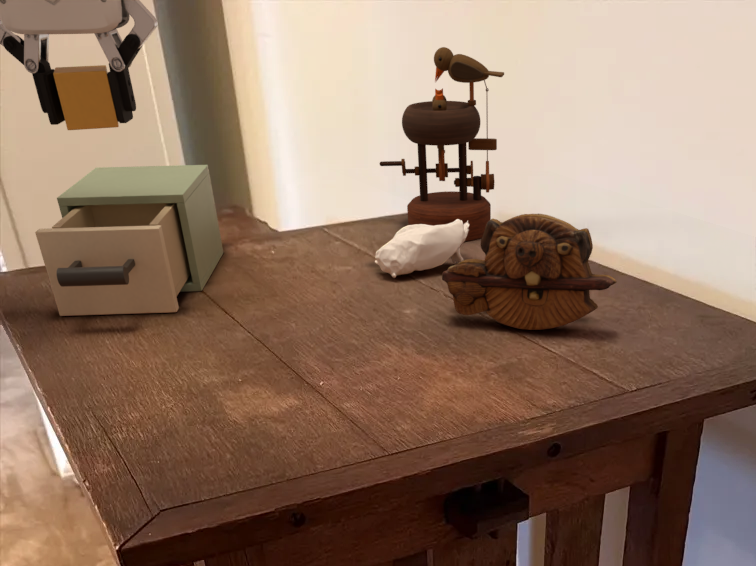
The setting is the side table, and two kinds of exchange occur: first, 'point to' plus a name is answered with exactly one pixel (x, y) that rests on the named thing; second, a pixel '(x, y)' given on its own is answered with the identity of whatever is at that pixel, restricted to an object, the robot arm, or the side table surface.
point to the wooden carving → (528, 274)
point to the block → (85, 97)
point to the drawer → (116, 259)
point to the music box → (450, 127)
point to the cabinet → (155, 187)
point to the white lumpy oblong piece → (422, 247)
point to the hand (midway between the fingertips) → (92, 119)
